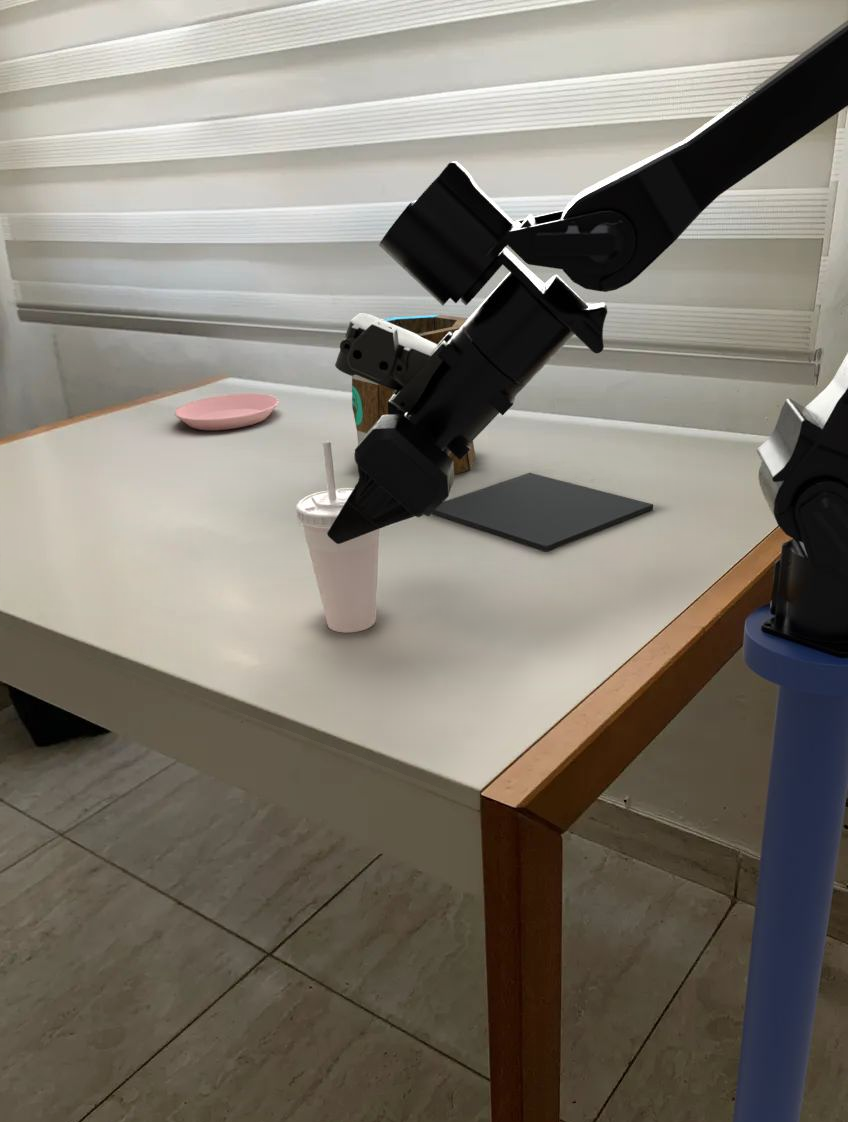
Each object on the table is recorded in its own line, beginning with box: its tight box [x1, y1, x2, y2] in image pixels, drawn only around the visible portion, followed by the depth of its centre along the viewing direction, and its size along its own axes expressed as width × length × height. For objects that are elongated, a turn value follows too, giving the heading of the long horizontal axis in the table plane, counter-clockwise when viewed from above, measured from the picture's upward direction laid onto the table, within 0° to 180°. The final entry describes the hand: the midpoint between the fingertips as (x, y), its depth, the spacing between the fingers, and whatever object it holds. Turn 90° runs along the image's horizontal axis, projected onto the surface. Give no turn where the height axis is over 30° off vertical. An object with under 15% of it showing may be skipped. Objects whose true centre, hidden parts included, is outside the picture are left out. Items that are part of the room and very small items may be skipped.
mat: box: [431, 472, 654, 552], centre depth 97 cm, size 16×14×1 cm
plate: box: [174, 393, 280, 431], centre depth 140 cm, size 14×14×2 cm
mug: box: [344, 314, 476, 476], centre depth 113 cm, size 20×14×15 cm
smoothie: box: [295, 440, 380, 634], centre depth 75 cm, size 6×6×14 cm
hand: (345, 516), depth 74 cm, fingers open, 9 cm apart
